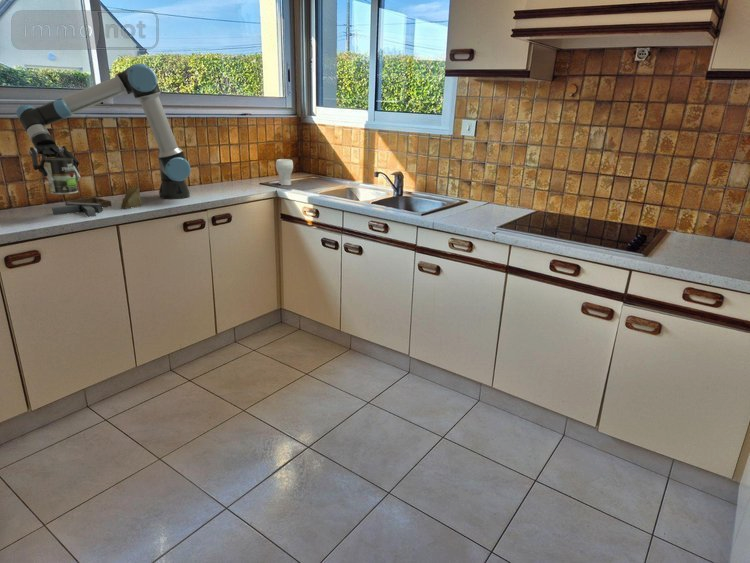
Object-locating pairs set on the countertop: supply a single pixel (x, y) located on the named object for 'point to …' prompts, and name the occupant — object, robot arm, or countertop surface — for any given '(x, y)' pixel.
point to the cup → (284, 170)
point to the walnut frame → (92, 201)
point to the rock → (131, 198)
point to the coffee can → (62, 175)
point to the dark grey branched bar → (78, 208)
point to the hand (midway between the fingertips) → (65, 180)
